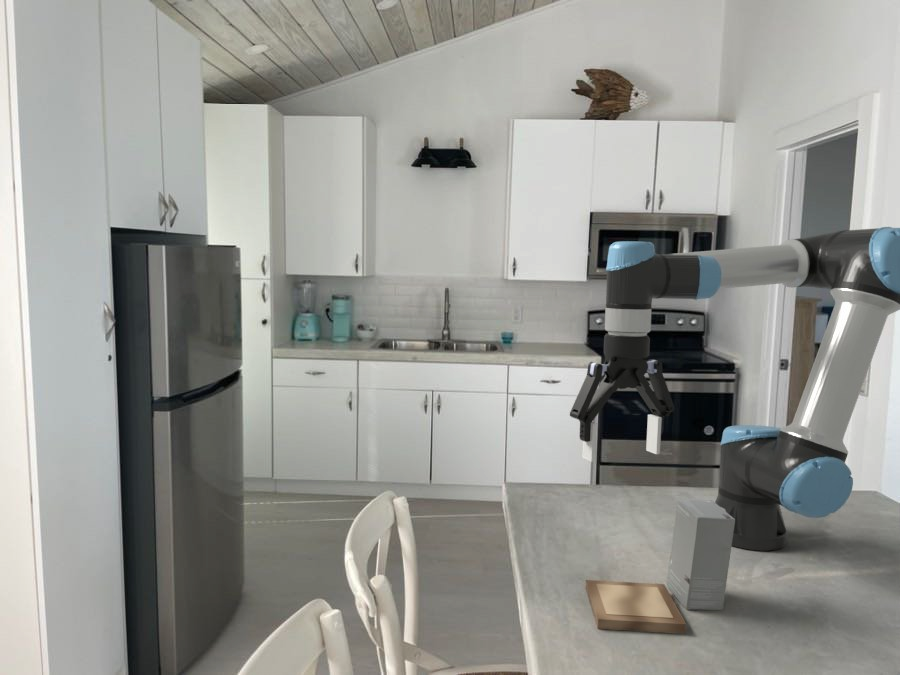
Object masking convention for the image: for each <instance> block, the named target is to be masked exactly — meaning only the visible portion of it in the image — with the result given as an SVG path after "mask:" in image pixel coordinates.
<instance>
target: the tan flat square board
mask: <svg viewBox="0 0 900 675" xmlns="http://www.w3.org/2000/svg"><path fill="white" fill-rule="evenodd" d="M585 592H586V595H587V598H588V602H589V604H590V608H591V611H592V615H593V618H594V622H595V625H596V627H597V629H599V630H615V631H631V632H632V631H634V632H646V633H647V632H649V633H664V634H665V633H666V634H667V633H668V634H682V635H686V634H687V623H686V621H685V619H684V617H683V616H682V614H681V612H680V610H679V609H678V607H677V604H676V603H675V600H674V599H673V597H672V596H671V594H670V592H669V589H668V587H667V586H666V585H665V584H664V583H651V582H650V583H649V582H628V581H610V580H593V579H586V580H585Z"/></svg>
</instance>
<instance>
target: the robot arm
mask: <svg viewBox="0 0 900 675" xmlns="http://www.w3.org/2000/svg"><path fill="white" fill-rule="evenodd" d="M607 253H608V254H607V263H606V268H605V270H606V289H605V290H606V292H605V293H606V294H605V295H606V297H605V311H604V312H605V313H604V314H605V315H604V317H605V318H604V329H605V331H606V332H607V333H605V335H604V338H603V355H604V359H605V360H604V362H603V363H599V362H598V363H597V362H593V361H590V362H589V363H588V365H587V372H586V376H585V378H584V381H583V383H582V385H581V387H580V389H579V392H578V393H577V396H576V398H575V400H574V403H573V405H572V407H571V410H570V411H569V416H570V417H571V418H573V419H576V420H578V421H579V439H580V441H582V451H581V452H582V453H581V456H582V459H584V460H587V461H588V462H590V463H594V462H596V453H597V452H596V451H597V431H598V430H597V428H598V426H597V425H598V423H596V422H594V420H595V419H596V417H597V416H598V414H599V413H600V412H601V410H602V408H604V406H605V405H606V403H607V402H608V400H609V399H610V398H611V396H612V395H613V393H615V392H617V391H618V390H619V389H620V390H625V389H628V388H630V389H635V390H636V391H637V392H638V394H639V395H640V397H641V398H642V400H643V401H644V402H645V405H646V406H647V407H648V409H649V410H650V412H651V413H652V414H651V413H650V414H647V423H646V424H647V428H646V444H645V445H646V446H645V447H646V448H645V450H646V451H647V452H649V453H651V454H654V455H661V440H662V438H661V437H662V435H663V433H664V429H665V428H664V427H665V418H669V417H670V413H673V412H674V411H675V409H676V407H675V405H674V402H673V400H672V397H671V393H670V391H669V388H668V385H667V383H666V380H665V377H664V374H663V363H662V361H661V360H656V359H650V358H649V359H648V360H647V358H648V357H650V346H651V345H650V344H651V337H649V335H648V333H650V332H651V331H652V330H651V328H652V327H651V326H652V303H653V300H654V299H658V300H659V299H674V300H694V301H697V300H705V299H707V300H708V299H710V298H712V297H714V296H715V295H716V294H717V293H718V291H719V290H720V289H721V290H722V289H731V288H733V289H734V288H743V287H744V288H745V287H746V288H747V287H755V286H757V287H758V286H767V285H768V286H769V285H777V284H778V285H779V284H782V285H784V286H785V287H786V288H793V289H794V288H816V289H817V288H818V289H826V290H830V291H829V293H830V295H831V296H832V298H833V300H834V306H833V309H832V312H831V313H830V314H831V315H830V317H829V320H828V323H827V327H826V328H825V330H824V334H823V336H822V339H821V341H820V344H819V348H818V351H817V354H816V357H815V359H814V362H813V364H812V368H811V370H810V373H809V375H808V379H807V381H806V384H805V387H804V389H803V392H802V395H801V397H800V400H799V403H798V407H797V408H796V412H795V415H794V418H793V420H792V422H791V423H790V424H789V425H785V426H784V427H782V428H781V427H776V426H771V425H770V426H767V425H751V424H750V425H746V424H744V425H742V424H740V425H731V426H727V427H725V428H724V429H723V432H722V436H721V441H720V447H721V448H720V457H719V458H720V460H719V462H720V463H719V476H718V477H719V478H718V490H717V496H716V499H715V500H714V502H715V503H716V504H717V505H718V506H720V507H722V508H724V509H725V510H726V512H727V513H728V514H729V515H730V516H732V517H733V518H734V519H735V525H734V532H733V539H732V546H731V547H734V548H735V547H736V548H740V549H745V550H751V551H762V552H763V551H776V550H780V549H783V548H784V547H786V545H787V536H788V532H787V531H788V530H787V528H786V524H785V519H784V516H783V513H782V509H781V507H784V508H785V509H786V510H788V511H789V512H792V513H795V514H799V515H801V516H803V517H806V518H809V519H810V518H811V519H819V518H825V517H827V516H829V515H830V514H833V513H836V512H837V511H838V510H840V509H841V508H842V507H843V506H844V505H845V504H846V503H847V501H848V499H849V498H850V496H851V493H852V490H853V487H854V479H853V477H852V476H851V475H852V471H851V469H850V468H849V466H848V465H847V464H846V460H847V458H848V456H849V451H848V448H847V447H846V445H845V443H844V438H845V434H846V432H847V429H848V427H849V424H850V421H851V418H852V415H853V413H854V410H855V407H856V404H857V401H858V399H859V396H860V392H862V387H863V386H864V382H865V380H866V376H867V374H868V372H869V369H870V365H871V363H872V361H873V358H874V355H875V352H876V349H877V348H878V347H877V346H878V343H879V341H880V338H881V336H882V333H883V331H884V327H885V324H886V322H887V319H888V316H889V315H892V314H894V313H896V312H898V311H900V227H891V226H883V227H880V228H879V227H878V228H877V227H876V228H865V229H863V228H862V229H845V230H836V231H832V232H826V233H822V234H816V235H813V236H807V237H801V238H800V237H799V238H790V239H786V240H784V241H782V242H781V243H780V244H778V245H777V244H776V245H765V246H763V245H762V246H752V247H741V248H738V247H737V248H726V249H715V250H704V251H703V250H701V251H693V252H692V251H689V252H678V253H667V254H664V253H663V254H660V253H656V249H655V245H654V243H653V242H651V241H634V240H633V241H632V240H631V241H629V240H627V241H624V240H623V241H615V242H613V243H612V244H610V245H609V247H608V252H607ZM646 373H647V375H648V378H649V380H650V382H649V381H648V379H647V378H646V376H645V375H646ZM602 376H604V377H603V378H602ZM650 385H651V386H652V388H651V387H650ZM652 389H653V390H652Z"/></svg>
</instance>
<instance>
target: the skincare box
mask: <svg viewBox="0 0 900 675" xmlns="http://www.w3.org/2000/svg"><path fill="white" fill-rule="evenodd" d="M675 511H676V512H675V518H674V525H673V534H672V539H671V540H672V541H671V548H670V556H669V563H668V564H669V565H668V570H667V572H668V573H667V578H666V588H667V590H670V592H671V593H672V594H673V595H674V596H675V598H676V599H677V600H678V601H679V602H680V603H681V605H682V606H683V607H684V608H685V609H686V610H708V611H709V610H711V611H716V610H717V611H720V610H723V609H724V604H725V597H726V596H725V595H726V590H727V582H728V574H729V566H730V559H731V552H732V551H731V550H732V547H733V546H732V539H733V532H734V525H735V519H734V518H733V517H732V516H730V515H729V514H728V513H727V512H726V510H725V509H724V508H722V507H720V506H718V505H717V504H716V503H715V500H712V499H694V498H677V503H676V510H675Z"/></svg>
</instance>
